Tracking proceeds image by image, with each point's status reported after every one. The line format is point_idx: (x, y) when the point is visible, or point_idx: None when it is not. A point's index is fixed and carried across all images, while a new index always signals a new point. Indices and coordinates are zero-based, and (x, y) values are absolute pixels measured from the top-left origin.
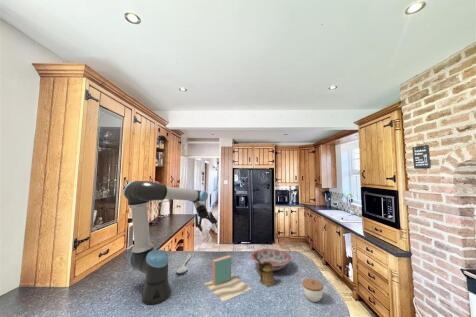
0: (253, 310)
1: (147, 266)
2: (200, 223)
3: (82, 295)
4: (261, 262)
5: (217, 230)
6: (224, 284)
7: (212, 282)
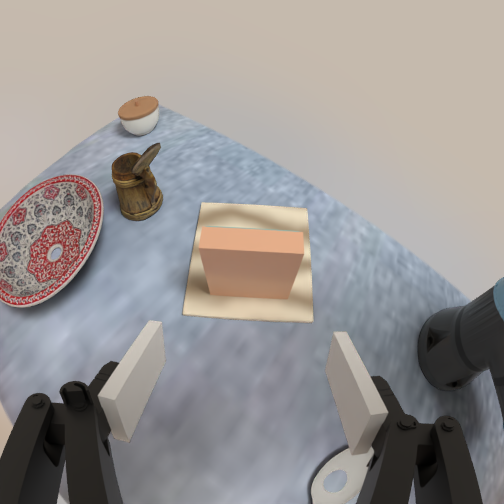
0: (261, 160)
1: None
2: (399, 447)
3: None
4: (94, 216)
5: (148, 323)
6: None
7: (282, 307)
